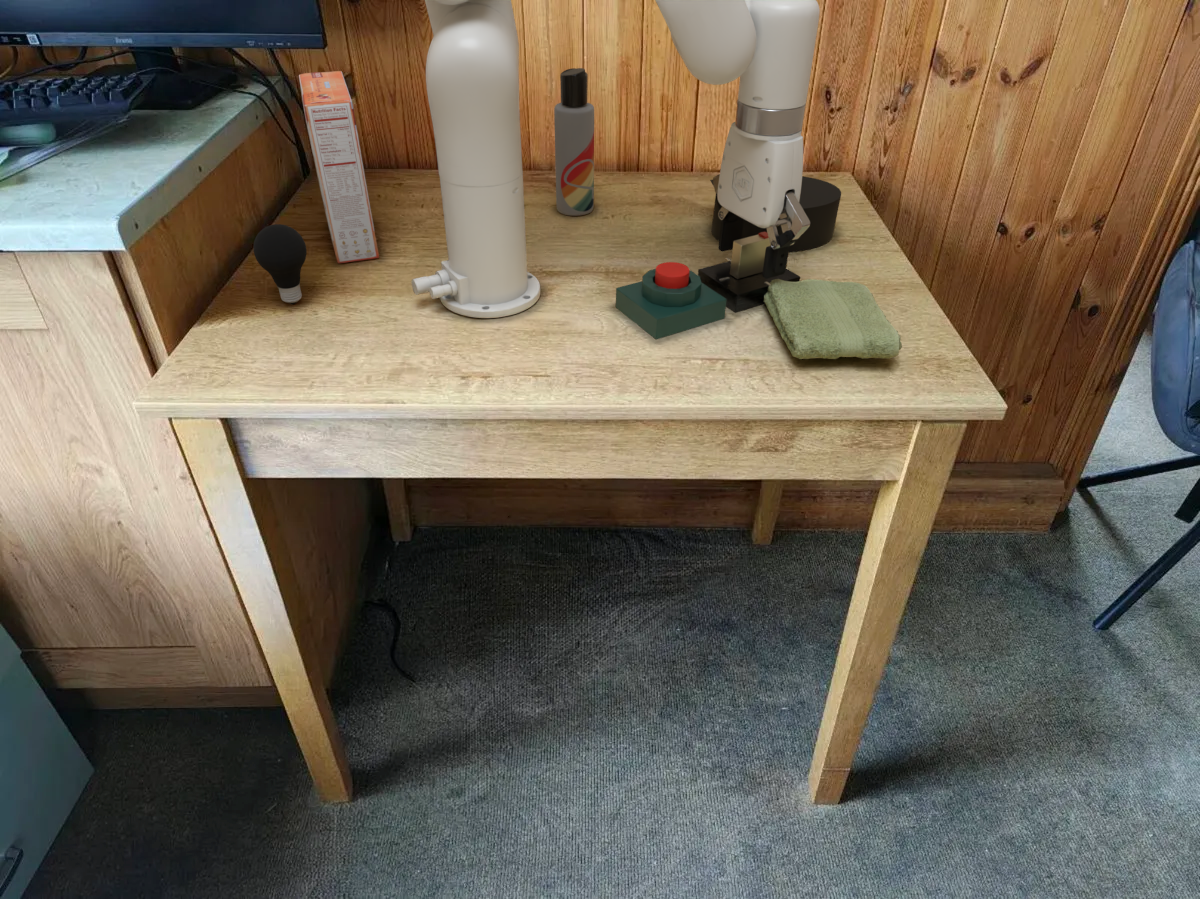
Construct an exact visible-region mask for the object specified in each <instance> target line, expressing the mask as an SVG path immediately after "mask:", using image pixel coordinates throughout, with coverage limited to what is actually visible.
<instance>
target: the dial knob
mask: <svg viewBox="0 0 1200 899" xmlns="http://www.w3.org/2000/svg"><path fill="white" fill-rule="evenodd" d="M768 246H771V245H770V241H769V237H768V233H767V232H761V233H759V234H758V235H755V236H751V237H747V238H743V239H739V240H735V241H734V242H733V249H732V251H731V258H730V259H731V268H730V275H732V276H733V277H735V278H736V279H740V278H743V277H747V276H750V275H754V274H757V273H761V272H763V265H764V258H765V251H766V247H768Z"/></svg>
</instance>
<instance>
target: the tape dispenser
mask: <svg viewBox="0 0 1200 899" xmlns="http://www.w3.org/2000/svg"><path fill="white" fill-rule="evenodd" d="M709 181H710V183H711V184H712V186H713V187H714V185H713V179H709ZM716 195H717V193H715V197H714V205H713V214H712V222H711V231H710V232H711V235H712V237H713V238H714V239H715V240H716V241H718V242H719V237H720V227H721V221H723V220H721V219H720V218H719V216H718V213H719V210H720V209H719V206H718V204H717V201H716ZM841 197H842V191H841V189H840V188H839V187H838V186H837V185H835V184H833V183H831V182H828V181H825V180H822V179H818V178H814V177H809V176H804V175H802V185H801V193H800V200H799V203H800V205H801V206H802V208H803V210H804V212H805V213H806V215H807V217H808V219H809V220H810V226H809V227H808V229H807V230H806V231H805V232H804V233H803V234H802V236H801V238H800V239H798V240H797V241H795V243H794V244H793V245H790V246H789V252H788V253H793V252H795V253H797V252H802V251H808V250H812V249H817V248H820V247H822V246H824V245H826V244H828V243H829V242H831V241H832V239H833V237H834V232H835V228H836V227H835V226H836V221H837V216H838V213H839V209H840V208H839V207H840V202H841V199H842V198H841ZM779 219H780V218H778V220H779ZM790 222H791V225H792V221H790ZM776 227H777V231H778V235H779V236H780V235H781V234H783V232H782V228H781V225H779V226H776ZM761 232H767V229H766V228H760V227H758V226H756V225H754V224H752V223H750V222H748V221H746V220H745V219H744V222H743V231H742V239H743V238H747V237H751V236H755V235H758V234H759V233H761Z"/></svg>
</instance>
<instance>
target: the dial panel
mask: <svg viewBox="0 0 1200 899" xmlns="http://www.w3.org/2000/svg"><path fill="white" fill-rule="evenodd" d="M731 259H732V258H730V257H726V258H725V260H726V261H724V262H720V263H717V264H712V265H709V266H706V267H702V268H699V269H698V270H697V275H698V276H700V279H701V282H702V283H703V284H705V285H706V286H708V287H709V288H711V289H712V290H714V291H715V292H717V293H718V294H720V295H721V296H723V297H724V298H726V308H727V309H728V310H729V311H731V312H733V313H735V314H738V313H741V312H743V311H746V310H750V309H753V308H756V307H760V306H764V305H766V304H765V302H764V295H765V294H766V293H767V292H768V287H769V286H770V285H771V284H769V283H770V282H771V281H772V280H775V279H780V280H784V281H789V282H798V281H801V276H800V275H798V274H796V273H795V272H793V271H792V270H790V269H788V268H786V271H785V273H784V274H782V275H779V276H775V277H772V278H768V279H766V278H764V277H763V275H762V272H761V273H757V274H754V275H750V276H747V277H743V278H740V279H736V278H735V277H733V276H732V275H730V268H731Z"/></svg>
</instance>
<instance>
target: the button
mask: <svg viewBox="0 0 1200 899" xmlns="http://www.w3.org/2000/svg"><path fill="white" fill-rule="evenodd" d="M655 269H656V271H655V284H656V285H658V286H660V287H664V288H668V289H680V288H683V287H687V286H688V283H689V270H690V267H688V266H687V265H685V264H684V263H681V262H676V261H667V262H662V263H659V264H657V265H656V267H655Z"/></svg>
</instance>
